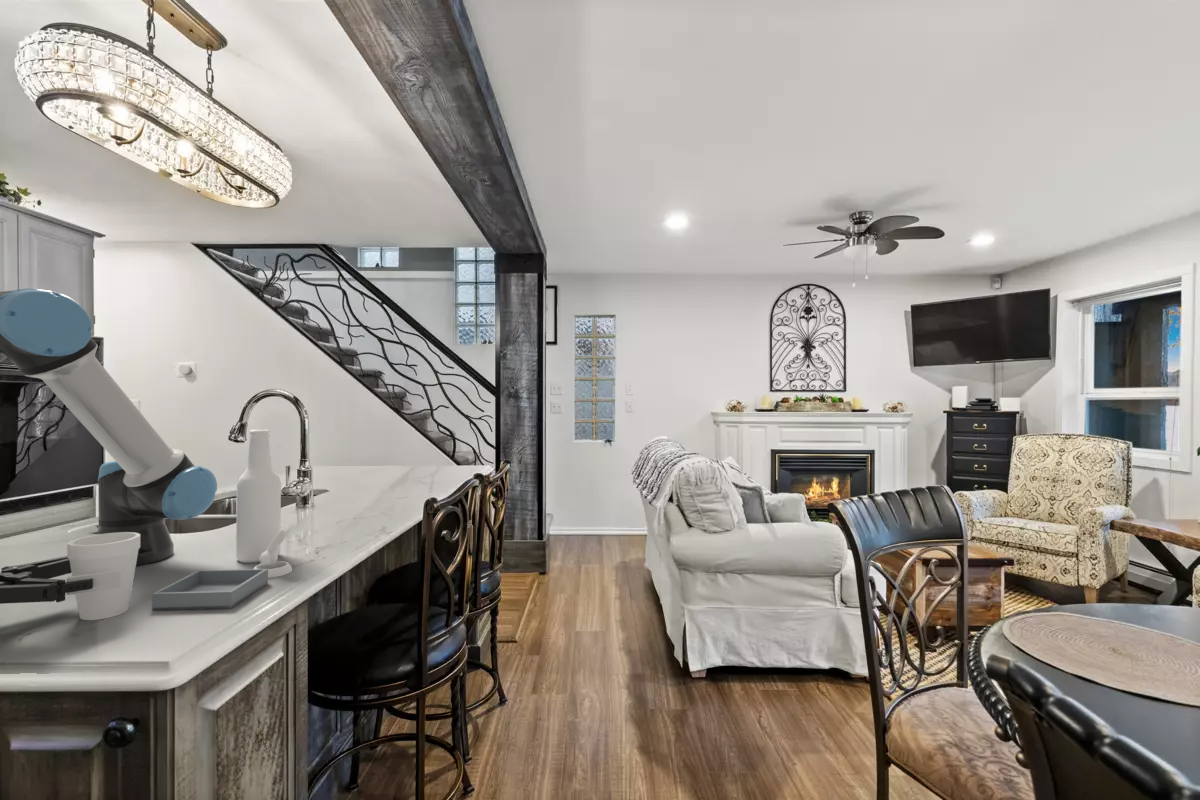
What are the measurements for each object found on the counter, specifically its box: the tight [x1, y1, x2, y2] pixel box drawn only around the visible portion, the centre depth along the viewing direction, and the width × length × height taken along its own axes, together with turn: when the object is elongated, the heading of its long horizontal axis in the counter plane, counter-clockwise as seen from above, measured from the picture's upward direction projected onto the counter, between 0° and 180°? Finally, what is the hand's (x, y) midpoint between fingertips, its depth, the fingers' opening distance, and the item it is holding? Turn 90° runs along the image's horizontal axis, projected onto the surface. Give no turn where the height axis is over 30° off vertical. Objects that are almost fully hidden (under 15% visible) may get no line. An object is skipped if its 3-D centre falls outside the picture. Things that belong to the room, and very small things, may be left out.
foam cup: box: [66, 532, 140, 621], centre depth 96 cm, size 10×9×13 cm
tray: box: [151, 568, 269, 612], centre depth 105 cm, size 13×13×3 cm
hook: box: [253, 526, 293, 579], centre depth 119 cm, size 8×12×7 cm
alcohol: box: [235, 429, 282, 564], centre depth 129 cm, size 9×9×30 cm
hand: (125, 567), depth 98 cm, fingers open, 13 cm apart
